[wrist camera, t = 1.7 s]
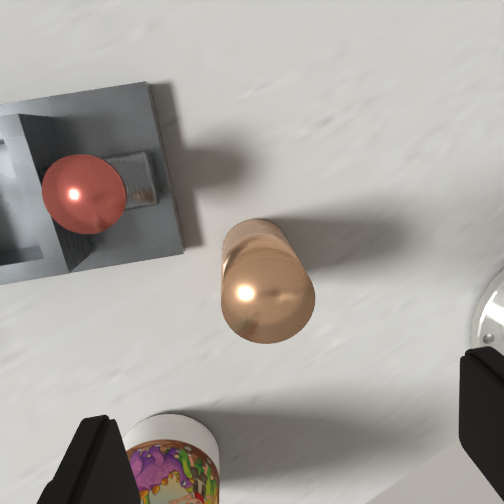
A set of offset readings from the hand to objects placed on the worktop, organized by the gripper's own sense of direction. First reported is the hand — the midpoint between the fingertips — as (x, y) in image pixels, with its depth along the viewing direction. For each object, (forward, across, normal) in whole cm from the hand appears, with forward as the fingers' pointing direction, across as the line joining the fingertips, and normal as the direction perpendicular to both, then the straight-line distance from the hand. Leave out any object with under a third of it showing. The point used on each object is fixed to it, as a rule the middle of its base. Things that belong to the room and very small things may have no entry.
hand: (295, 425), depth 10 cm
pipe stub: (+16, 0, 0) cm, 16 cm away
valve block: (+16, +11, -6) cm, 20 cm away
